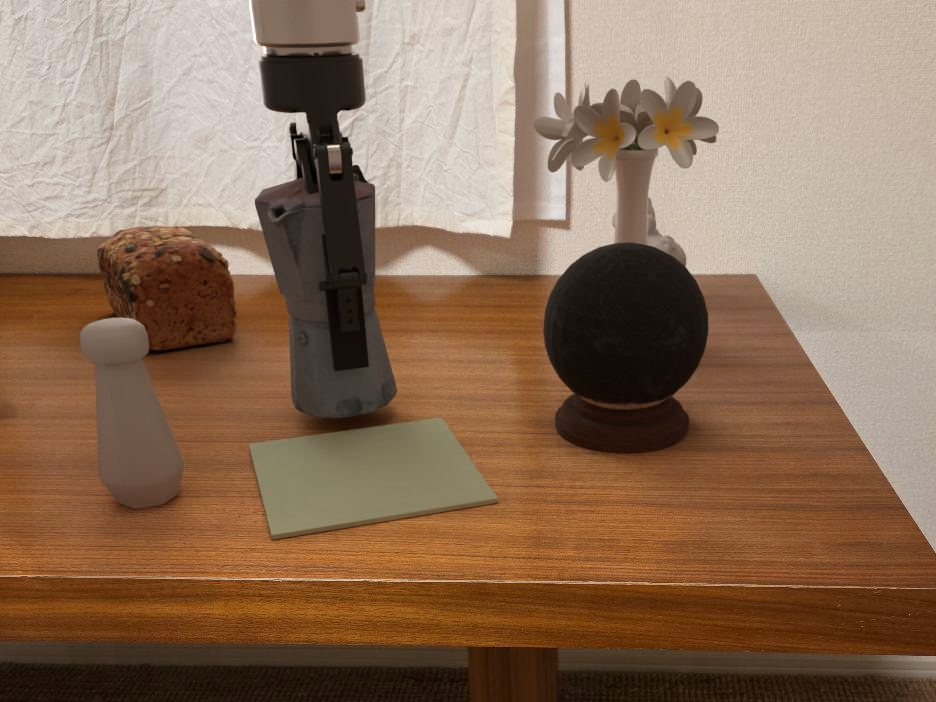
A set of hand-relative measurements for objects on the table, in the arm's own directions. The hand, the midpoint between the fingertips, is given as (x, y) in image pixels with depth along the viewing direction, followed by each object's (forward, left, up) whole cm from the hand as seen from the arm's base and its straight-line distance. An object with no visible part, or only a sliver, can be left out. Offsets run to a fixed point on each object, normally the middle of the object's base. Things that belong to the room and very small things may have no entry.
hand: (340, 348), depth 84 cm
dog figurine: (+39, +25, -6) cm, 47 cm away
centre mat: (-1, -12, -6) cm, 14 cm away
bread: (-13, +32, -6) cm, 35 cm away
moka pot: (0, 0, -5) cm, 5 cm away
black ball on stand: (+21, -10, -6) cm, 25 cm away
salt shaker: (-16, -11, -6) cm, 20 cm away
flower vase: (+29, +9, -6) cm, 31 cm away
